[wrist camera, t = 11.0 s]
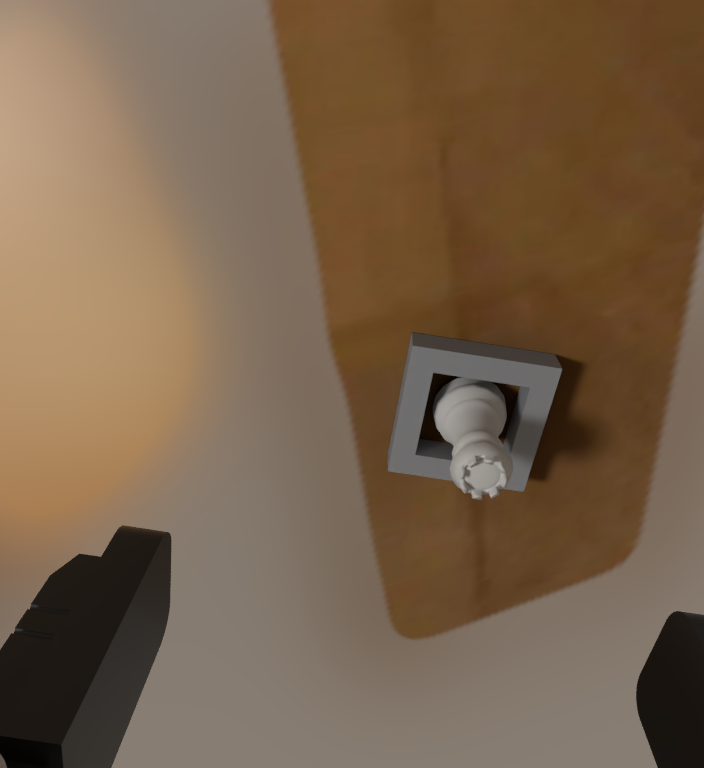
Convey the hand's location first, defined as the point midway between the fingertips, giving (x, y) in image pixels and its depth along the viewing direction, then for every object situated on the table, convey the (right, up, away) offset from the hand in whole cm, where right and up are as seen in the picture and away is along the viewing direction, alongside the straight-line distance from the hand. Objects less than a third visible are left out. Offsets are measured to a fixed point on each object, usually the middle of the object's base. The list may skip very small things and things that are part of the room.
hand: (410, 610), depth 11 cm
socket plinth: (+6, +2, +30) cm, 31 cm away
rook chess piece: (+6, +2, +30) cm, 31 cm away
